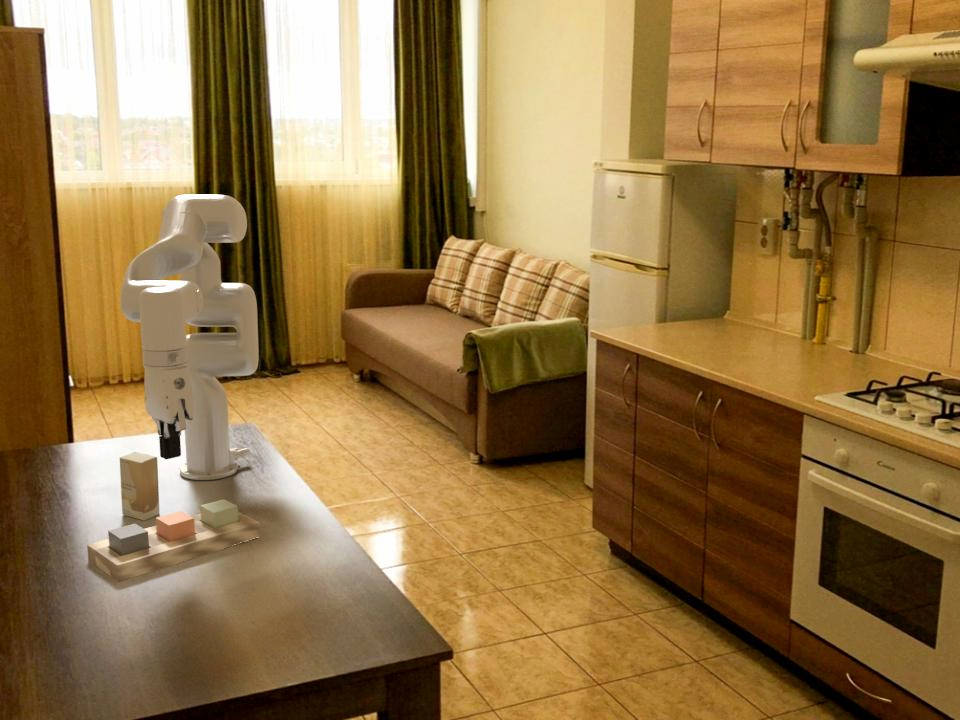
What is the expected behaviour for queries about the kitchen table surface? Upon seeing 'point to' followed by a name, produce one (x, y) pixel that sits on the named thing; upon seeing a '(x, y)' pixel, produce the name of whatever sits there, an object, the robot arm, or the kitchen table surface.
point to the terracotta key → (175, 526)
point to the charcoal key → (128, 539)
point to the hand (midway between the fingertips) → (170, 456)
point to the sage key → (219, 513)
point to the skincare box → (139, 485)
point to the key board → (171, 548)
